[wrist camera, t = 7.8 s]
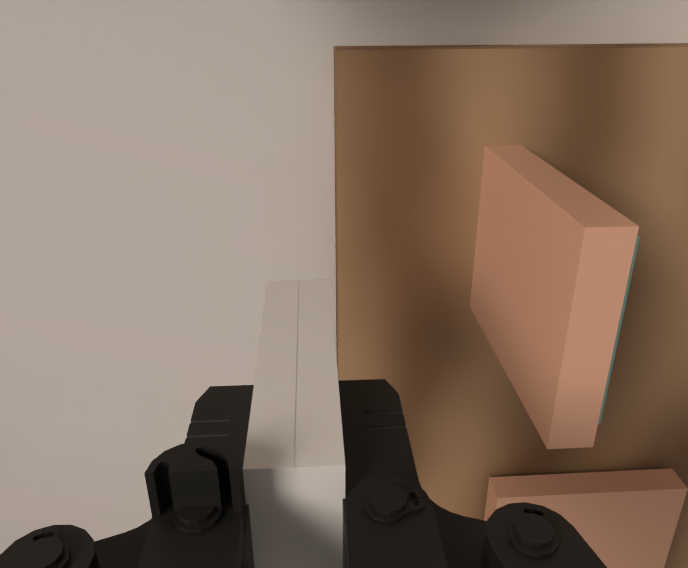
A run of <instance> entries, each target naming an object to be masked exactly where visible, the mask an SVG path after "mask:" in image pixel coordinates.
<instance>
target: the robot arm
mask: <svg viewBox="0 0 688 568" xmlns="http://www.w3.org/2000/svg"><path fill="white" fill-rule="evenodd" d="M145 479H146V484H147V490H148V495H149V501H150V507H151V512H152V519H151V520H149V521H148V522H146V523H144V524H143V525H141V526H139V527H138V528H135V529H133V530H130V531H127V532H125V533H122V534H119V535H115V536H112V537H109V538H105V539H102V540H99V541H95V542H94V540H93V539H92V537H91V536H90V535H89V534H88V533H87V531H86V530H84V529H81V528H79V527H76V526H73V525H52V526H49V527H45V528H42V529H38V530H35V531H33V532H31V533H29V534H27V535H25V536H24V537H22V538H20V539H18V540H16V541H15V542H14V543H13V544H12V545H11V546H9V547H8V548H7V549H6V550H5V551H4V552H3V553H2V554H1V555H0V568H607V567H606V565H605V564H604V563H603V562H602V561H601V559H600V558H599V557H598V556H597V554H596V553H595V552H594V551H593V550H592V548H591V547H590V546H589V545H588V543H587V542H586V541H585V540H584V539H583V537H582V536H581V535H580V534H579V532H578V531H577V530H576V529H575V528H574V526H573V525H572V524H570V523H569V522H568V521H567V520H566V519H565V518H564V517H563V516H561V515H560V514H559V513H557V512H555V511H553V510H551V509H549V508H547V507H545V506H541V505H537V504H532V503H527V502H522V503H509V504H507V505H505V506H502V507H500V508H498V509H496V510H495V511H494V512H493V513H492V515H491V516H490V517H489V518H488V520H487V521H484V520H480V519H475V518H471V517H466V516H462V515H459V514H456V513H452V512H450V511H448V510H446V509H444V508H442V507H440V506H438V505H437V504H436V503H435V502H433V501H432V500H431V499H430V498H429V497H428V495H427V493H426V492H425V491H424V490H423V489H422V487H421V485H420V482H419V479H418V475H417V471H416V466H415V462H414V458H413V453H412V449H411V445H410V440H409V436H408V432H407V428H406V423H405V419H404V414H403V410H402V406H401V401H400V397H399V393H398V392H397V391H396V390H395V389H394V388H393V387H392V386H391V385H390V384H389V383H388V382H387V380H386V379H369V380H339V381H338V371H337V359H336V347H335V335H334V323H333V311H332V299H331V287H330V279H321V280H282V281H268V283H267V290H266V298H265V305H264V313H263V320H262V328H261V335H260V343H259V350H258V358H257V366H256V373H255V381H254V385H242V386H212V387H209V388H208V390H207V391H206V392H205V393H204V394H203V395H202V396H201V397H200V398H199V399H198V400H197V401H196V403H195V407H194V410H193V414H192V418H191V424H190V425H189V429H188V433H187V438H186V440H185V444H180V445H178V446H176V447H173V448H171V449H169V450H166V451H164V452H163V453H162V454H161V455H159V456H158V457H157V458H155V459H154V460H153V461H152V462H151V464H150V465H149V467H148V469H147V470H146V472H145Z"/></svg>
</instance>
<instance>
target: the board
mask: <svg viewBox="0 0 688 568" xmlns="http://www.w3.org/2000/svg"><path fill="white" fill-rule="evenodd" d="M334 114H335V223H336V332H337V371H338V381H339V380H369V379H386V380H387V382H388V383H389V384H390V385H391V386H392V387H393V388H394V389H395V390H396V391H397V392H398V393H399V397H400V401H401V406H402V410H403V414H404V419H405V423H406V428H407V432H408V436H409V440H410V445H411V449H412V453H413V458H414V462H415V466H416V471H417V475H418V479H419V482H420V485H421V487H422V489H423V490H424V491H425V492H426V493H427V495H428V497H429V498H430V499H431V500H432V501H433V502H435V503H436V504H437V505H438V506H440V507H442V508H444V509H446V510H448V511H450V512H452V513H456V514H459V515H462V516H466V517H471V518H475V519H480V520H484V515H485V507H486V499H487V491H488V483H489V477H505V476H526V475H546V474H567V473H588V472H608V471H629V470H650V469H671V468H672V469H673V470H674V471H675V473H676V474H677V475H678V477H679V478H680V479H681V480H682V482H683V483H684V484H685V485H686V487H687V488H688V43H687V44H563V45H439V46H334ZM485 145H522V146H523V147H524V148H526V149H527V150H529V151H530V152H532V153H533V154H535V155H536V156H538V157H539V158H540V159H542V160H543V161H545V162H546V163H548V164H549V165H551V166H552V167H554V168H555V169H557V170H558V171H559V172H561V173H562V174H564V175H565V176H567V177H568V178H570V179H571V180H573V181H574V182H576V183H577V184H578V185H580V186H581V187H583V188H584V189H586V190H587V191H589V192H590V193H592V194H593V195H594V196H596V197H597V198H599V199H600V200H602V201H603V202H605V203H606V204H608V205H609V206H611V207H612V208H613V209H615V210H616V211H618V212H619V213H621V214H622V215H624V216H625V217H627V218H628V219H629V220H631V221H632V222H634V223H635V224H637V225H638V226H639V230H638V234H637V235H638V236H640V239H639V243H638V248H637V253H636V257H635V262H634V267H633V272H632V276H631V281H630V286H629V291H628V295H627V300H626V305H625V310H624V314H623V319H622V324H621V328H620V333H619V338H618V343H617V347H616V352H615V357H614V362H613V366H612V371H611V376H610V380H609V385H608V390H607V395H606V399H605V404H604V409H603V414H602V418H601V423H600V424H598V426H597V430H596V435H595V440H594V445H593V447H584V448H563V449H547V448H546V446H545V444H544V442H543V440H542V439H541V437H540V435H539V433H538V431H537V429H536V428H535V426H534V424H533V422H532V420H531V418H530V417H529V415H528V413H527V411H526V409H525V407H524V406H523V404H522V402H521V400H520V398H519V396H518V394H517V393H516V391H515V389H514V387H513V385H512V383H511V382H510V380H509V378H508V376H507V374H506V372H505V371H504V369H503V367H502V365H501V363H500V361H499V359H498V358H497V356H496V354H495V352H494V350H493V348H492V347H491V345H490V343H489V341H488V339H487V337H486V336H485V334H484V332H483V330H482V328H481V326H480V325H479V323H478V321H477V319H476V317H475V315H474V313H473V312H472V310H471V308H470V300H471V289H472V278H473V268H474V257H475V246H476V235H477V224H478V214H479V203H480V192H481V181H482V171H483V160H484V149H485ZM664 568H688V490H687V493H686V496H685V500H684V503H683V506H682V510H681V513H680V516H679V520H678V523H677V526H676V529H675V533H674V536H673V539H672V543H671V546H670V549H669V553H668V556H667V559H666V563H665V566H664Z"/></svg>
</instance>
